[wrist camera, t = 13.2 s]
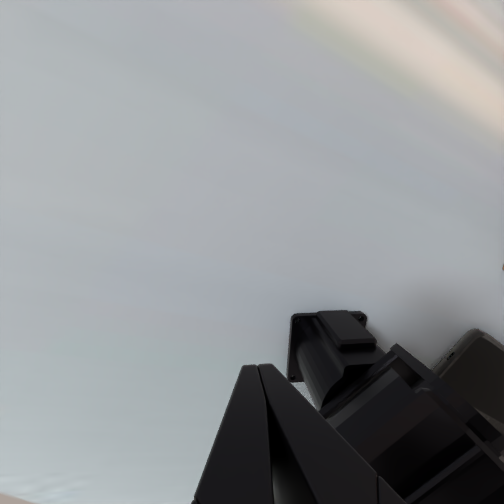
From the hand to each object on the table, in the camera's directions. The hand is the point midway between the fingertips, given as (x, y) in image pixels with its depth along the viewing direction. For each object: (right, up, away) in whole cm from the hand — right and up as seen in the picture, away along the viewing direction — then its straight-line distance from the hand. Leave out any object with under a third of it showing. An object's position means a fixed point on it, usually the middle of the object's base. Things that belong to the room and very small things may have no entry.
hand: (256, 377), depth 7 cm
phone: (+25, -10, +19) cm, 33 cm away
